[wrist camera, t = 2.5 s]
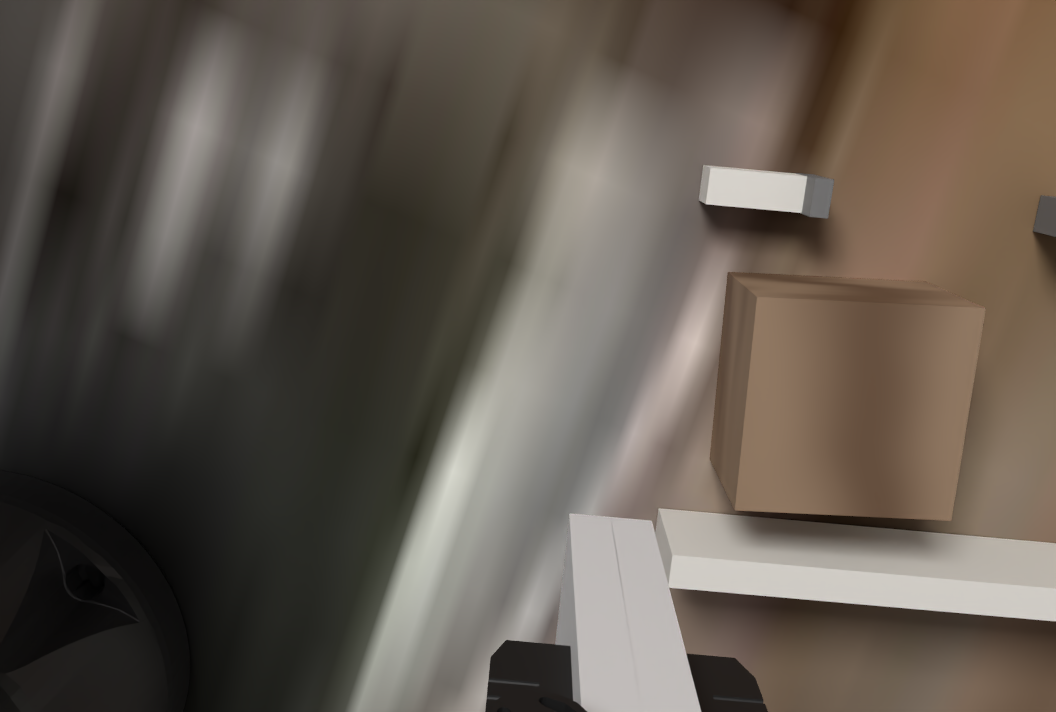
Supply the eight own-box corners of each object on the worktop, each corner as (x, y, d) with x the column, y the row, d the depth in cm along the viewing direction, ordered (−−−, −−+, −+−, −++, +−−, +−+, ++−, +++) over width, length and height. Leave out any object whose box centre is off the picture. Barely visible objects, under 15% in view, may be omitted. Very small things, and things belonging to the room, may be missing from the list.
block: (708, 457, 37) (734, 510, 32) (727, 271, 35) (757, 297, 30) (896, 466, 37) (951, 520, 32) (923, 280, 35) (985, 307, 30)
